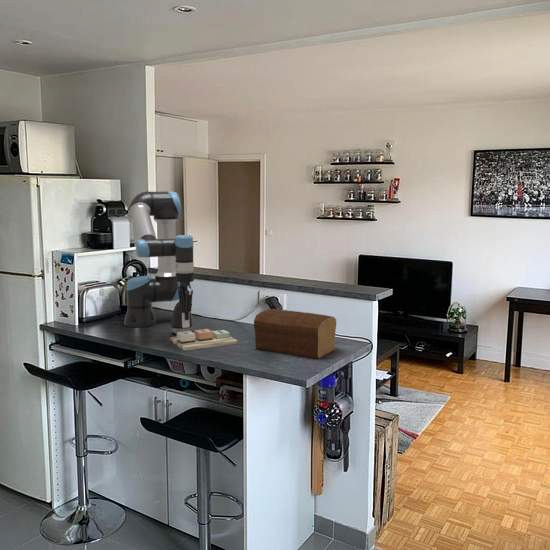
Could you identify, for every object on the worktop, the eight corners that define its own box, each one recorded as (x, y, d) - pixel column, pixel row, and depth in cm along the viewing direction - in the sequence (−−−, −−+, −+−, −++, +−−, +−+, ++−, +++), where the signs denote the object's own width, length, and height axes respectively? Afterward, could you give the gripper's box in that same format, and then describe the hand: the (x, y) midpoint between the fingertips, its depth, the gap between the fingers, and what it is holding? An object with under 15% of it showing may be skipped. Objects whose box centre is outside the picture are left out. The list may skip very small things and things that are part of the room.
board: (170, 340, 253) (170, 337, 253) (221, 334, 264) (220, 331, 264) (184, 350, 237) (184, 347, 237) (237, 343, 249) (237, 340, 248)
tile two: (194, 336, 252) (194, 330, 251) (207, 334, 255) (207, 328, 254) (199, 339, 247) (199, 333, 246) (212, 337, 249) (212, 331, 249)
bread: (317, 360, 225) (317, 320, 222) (252, 349, 240) (252, 311, 238) (336, 349, 240) (337, 311, 238) (275, 340, 255) (275, 304, 253)
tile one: (176, 338, 248) (176, 332, 248) (190, 336, 251) (190, 330, 250) (181, 341, 243) (181, 335, 242) (195, 340, 246) (195, 333, 245)
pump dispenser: (187, 337, 260) (186, 303, 257) (166, 335, 263) (166, 302, 261) (197, 332, 269) (197, 299, 267) (177, 330, 272) (177, 298, 270)
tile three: (211, 337, 256) (211, 331, 255) (224, 335, 259) (224, 329, 258) (216, 340, 250) (216, 334, 250) (229, 338, 253) (229, 332, 253)
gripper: (171, 271, 247) (172, 325, 250) (181, 274, 235) (182, 331, 238) (187, 269, 250) (189, 323, 253) (198, 273, 239) (199, 329, 242)
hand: (185, 327), depth 246 cm, fingers closed
